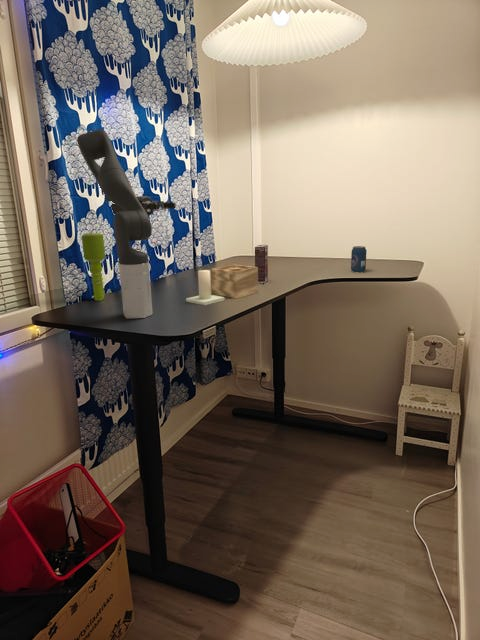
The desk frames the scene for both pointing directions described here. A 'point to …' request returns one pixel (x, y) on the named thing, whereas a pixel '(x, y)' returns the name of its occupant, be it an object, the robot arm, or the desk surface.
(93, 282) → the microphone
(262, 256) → the supplement box
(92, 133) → the robot arm
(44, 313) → the desk surface
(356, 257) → the soda can
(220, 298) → the lid
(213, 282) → the box
